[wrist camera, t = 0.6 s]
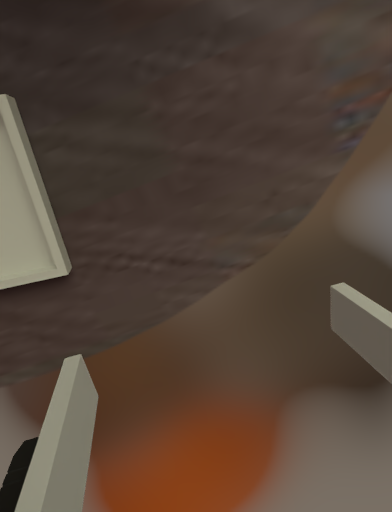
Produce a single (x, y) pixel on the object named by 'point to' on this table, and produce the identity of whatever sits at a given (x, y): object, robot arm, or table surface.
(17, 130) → the tray
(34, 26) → the table surface
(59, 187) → the table surface
